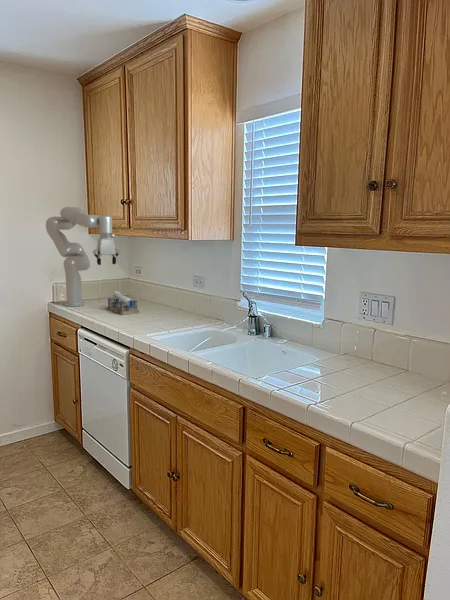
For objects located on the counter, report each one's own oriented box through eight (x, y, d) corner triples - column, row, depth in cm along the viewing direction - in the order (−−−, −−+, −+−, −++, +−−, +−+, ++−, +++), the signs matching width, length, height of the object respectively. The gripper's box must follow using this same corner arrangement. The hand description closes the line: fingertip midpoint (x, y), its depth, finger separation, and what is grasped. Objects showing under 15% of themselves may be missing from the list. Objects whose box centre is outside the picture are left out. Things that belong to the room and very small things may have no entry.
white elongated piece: (126, 300, 266) (110, 289, 285) (126, 311, 268) (110, 299, 287) (134, 299, 269) (118, 288, 288) (134, 310, 271) (118, 298, 290)
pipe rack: (106, 309, 284) (106, 297, 283) (122, 308, 291) (122, 296, 290) (122, 315, 268) (122, 302, 267) (139, 313, 275) (139, 300, 274)
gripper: (116, 236, 285) (116, 263, 288) (89, 236, 274) (90, 264, 277) (121, 236, 279) (122, 264, 282) (95, 236, 268) (95, 265, 271)
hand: (106, 264), depth 279 cm, fingers open, 9 cm apart
